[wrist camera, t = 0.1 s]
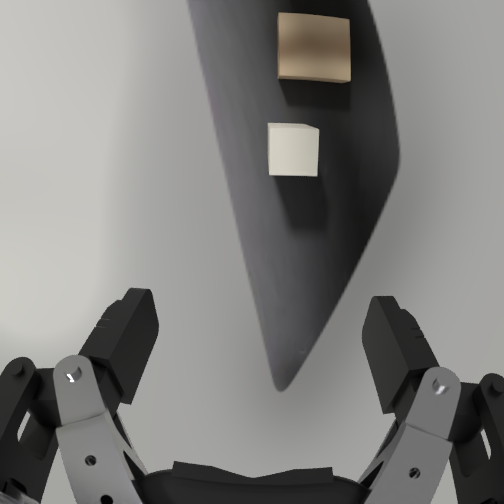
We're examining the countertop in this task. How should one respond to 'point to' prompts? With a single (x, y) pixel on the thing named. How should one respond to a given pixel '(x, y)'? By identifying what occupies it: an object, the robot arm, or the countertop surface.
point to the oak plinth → (313, 48)
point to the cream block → (292, 149)
